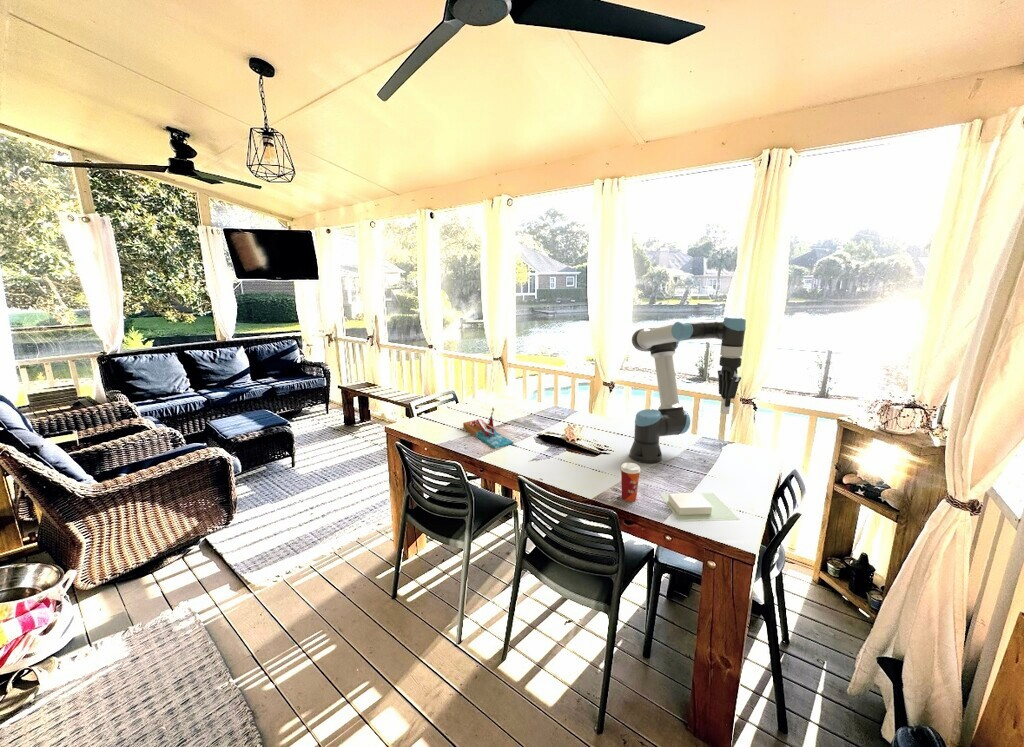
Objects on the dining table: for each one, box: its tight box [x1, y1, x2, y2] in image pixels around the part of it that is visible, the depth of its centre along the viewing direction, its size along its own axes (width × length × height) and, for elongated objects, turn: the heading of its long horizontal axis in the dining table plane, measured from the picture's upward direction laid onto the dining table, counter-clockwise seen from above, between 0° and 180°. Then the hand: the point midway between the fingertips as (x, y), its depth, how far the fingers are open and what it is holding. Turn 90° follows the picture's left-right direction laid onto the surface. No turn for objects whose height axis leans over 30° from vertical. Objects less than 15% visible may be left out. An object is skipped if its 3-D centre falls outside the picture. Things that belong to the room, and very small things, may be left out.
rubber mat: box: [659, 492, 740, 522], centre depth 153 cm, size 19×22×1 cm
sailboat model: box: [462, 407, 514, 450], centre depth 227 cm, size 12×37×17 cm, turn 34°
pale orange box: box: [668, 492, 712, 515], centre depth 152 cm, size 10×3×12 cm
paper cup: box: [620, 462, 642, 503], centre depth 159 cm, size 8×8×14 cm
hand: (724, 413), depth 162 cm, fingers closed
